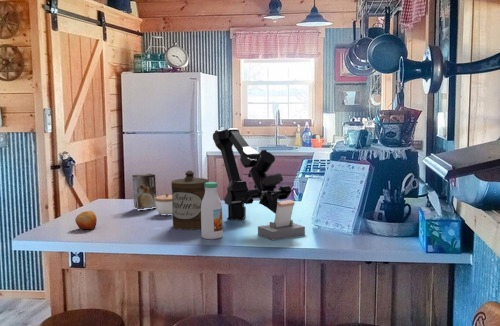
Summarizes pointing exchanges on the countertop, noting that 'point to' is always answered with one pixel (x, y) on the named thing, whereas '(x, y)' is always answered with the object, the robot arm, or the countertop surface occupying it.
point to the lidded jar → (164, 204)
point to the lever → (283, 213)
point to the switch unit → (281, 231)
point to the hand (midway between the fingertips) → (276, 213)
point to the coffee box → (144, 191)
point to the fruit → (86, 220)
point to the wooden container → (187, 201)
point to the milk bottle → (211, 213)
